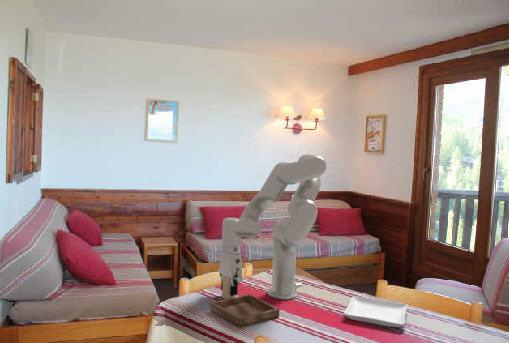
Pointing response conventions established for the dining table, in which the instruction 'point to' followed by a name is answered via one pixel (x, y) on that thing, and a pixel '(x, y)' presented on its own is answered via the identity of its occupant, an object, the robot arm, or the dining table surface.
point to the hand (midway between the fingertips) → (229, 292)
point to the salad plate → (376, 311)
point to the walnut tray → (244, 310)
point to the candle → (227, 287)
